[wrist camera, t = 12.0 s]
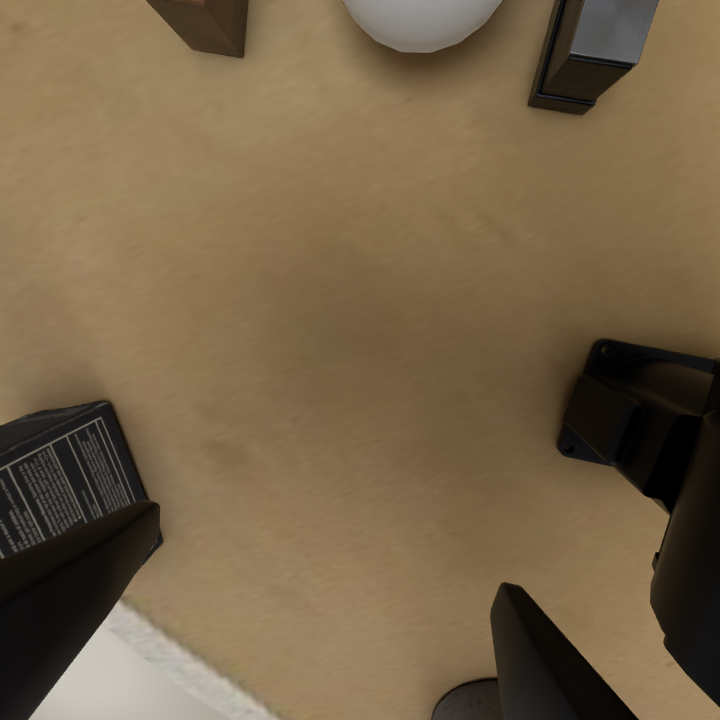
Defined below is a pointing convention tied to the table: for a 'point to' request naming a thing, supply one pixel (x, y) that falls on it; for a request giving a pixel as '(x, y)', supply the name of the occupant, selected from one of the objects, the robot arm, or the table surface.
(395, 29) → the seamed sphere
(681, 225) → the table surface
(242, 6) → the brown rectangular block
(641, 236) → the table surface
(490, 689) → the pillar candle
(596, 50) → the stapler
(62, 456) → the small box
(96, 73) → the table surface
